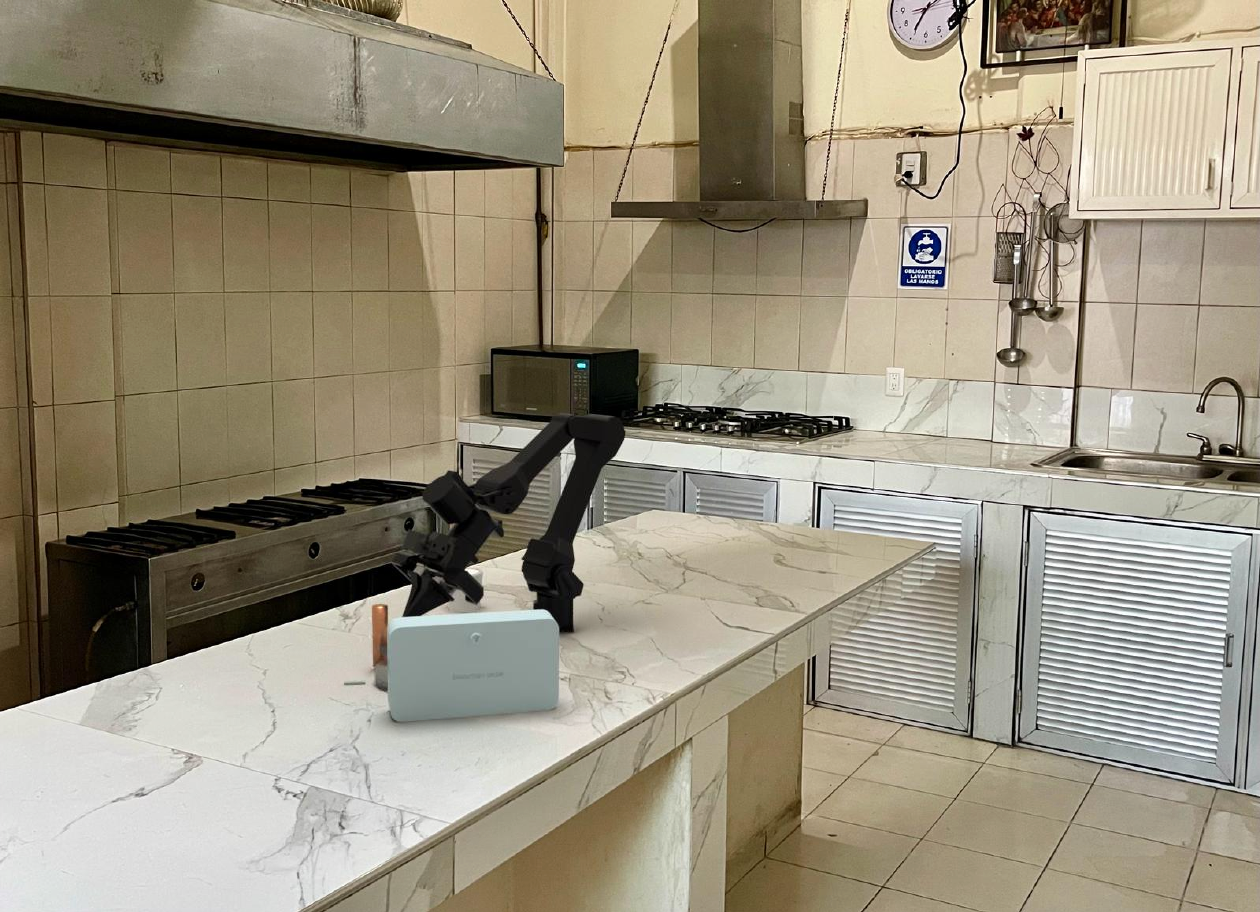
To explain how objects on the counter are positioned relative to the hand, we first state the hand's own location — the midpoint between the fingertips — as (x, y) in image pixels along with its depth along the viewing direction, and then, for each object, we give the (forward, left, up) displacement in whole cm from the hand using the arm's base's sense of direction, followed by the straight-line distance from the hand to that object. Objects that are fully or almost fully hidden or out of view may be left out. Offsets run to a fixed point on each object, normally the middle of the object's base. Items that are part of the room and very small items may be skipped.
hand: (404, 620), depth 188 cm
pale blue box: (-11, +20, -7) cm, 24 cm away
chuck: (-1, +8, -7) cm, 11 cm away
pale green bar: (+7, +8, -7) cm, 13 cm away
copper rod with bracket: (+2, +3, -7) cm, 8 cm away
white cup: (-8, -33, -7) cm, 35 cm away
